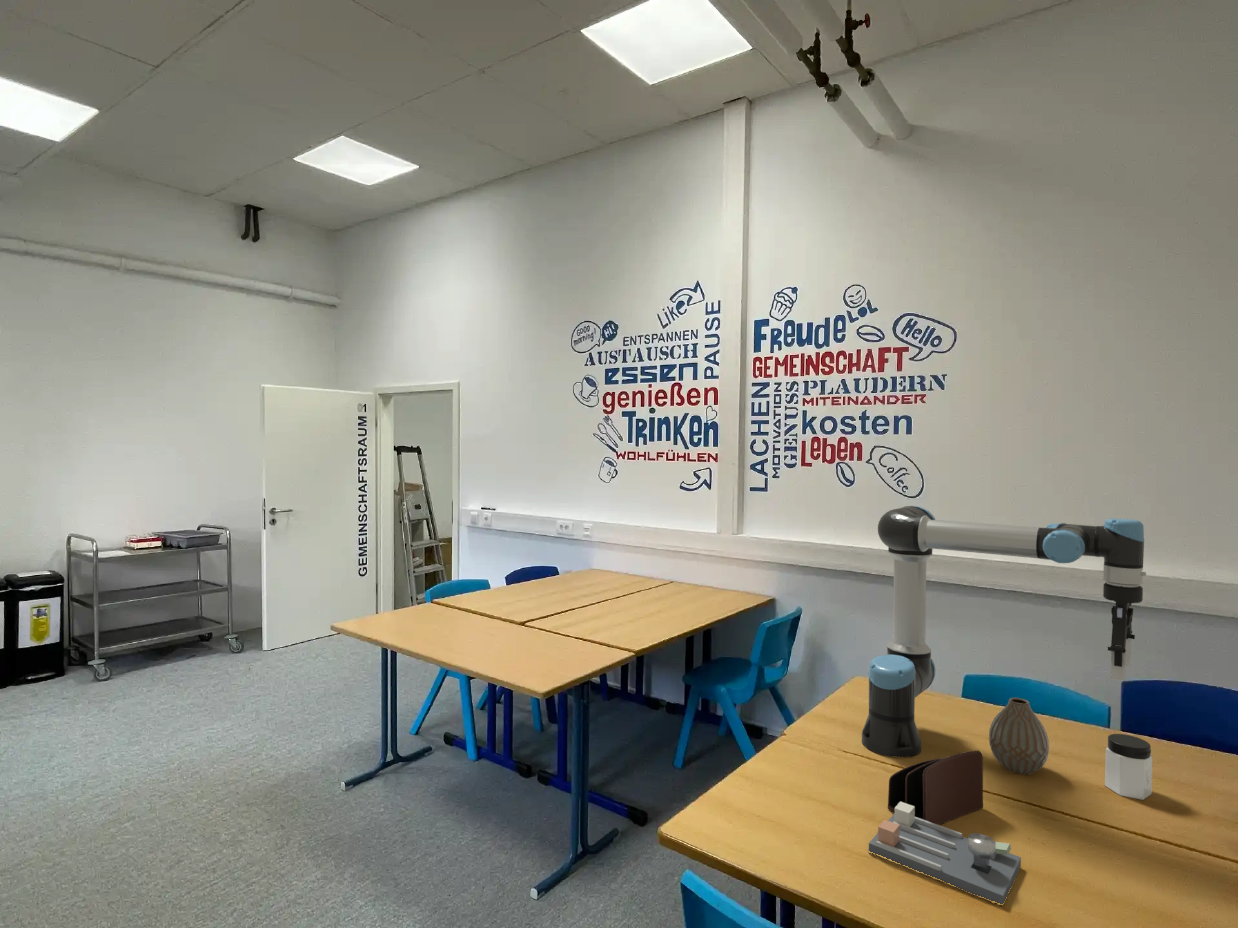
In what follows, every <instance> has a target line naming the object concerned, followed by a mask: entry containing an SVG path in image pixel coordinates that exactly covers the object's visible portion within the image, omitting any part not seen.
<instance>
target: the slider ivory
mask: <svg viewBox="0 0 1238 928" xmlns="http://www.w3.org/2000/svg"><path fill="white" fill-rule="evenodd" d="M893 814H894V822H897V823H900V824H903V825H905V826H908V827H910V826H911V825H912V824H913V823H914V821H915V806H912V805H909V804H906V803H903V802H899V804H898V805H897V806H896V807H895V813H893Z"/></svg>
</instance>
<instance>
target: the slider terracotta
mask: <svg viewBox="0 0 1238 928" xmlns="http://www.w3.org/2000/svg"><path fill="white" fill-rule="evenodd" d="M877 828H878V829H877V833H878V841H879V842H882V843H885V844H887V845H890V846H892V847H895V845H896V844H897V843H898V842H899V833H900V825H898V824H896V823H893V822H890V821H888V820H887V819H883V820H882V822H881V823H880V824H879V825H878V827H877Z"/></svg>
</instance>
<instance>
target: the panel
mask: <svg viewBox="0 0 1238 928" xmlns="http://www.w3.org/2000/svg"><path fill="white" fill-rule="evenodd" d="M887 821H890V822H893V823H896V824H898V825H900V833H899V842H898V843H897V844H896V845H895V847H892V846H890V845H887V844H885V843H882V842H879V841H878V832H877V833H876V834H875V835H874V836H873V838H871V840H870V841H869V842H868V852H869V851H870V852H873V853H875V854H878V855H881V856H883V857H886V858H887V859H891V860H892V861H895V862H897V863H900V864H901V865H905V866H908V867H909V868H912V869H914V870H917V871H919V872H923V873H924V874H927V875H930V876H932V877H935V878H937V879H940V880H942V881H944V882H946V883H950V884H951V885H954V886H956V887H958V888H960V889H963V890H965V891H967V892H970V893H972V894H975V895H978V896H981V897H984V898H986V899H989V900H991V901H995V902H997V903H1000V904H1003V903H1004V901H1005V899H1006V897H1007V894H1008V892H1009V890H1010V888H1011V886H1012V885H1013V886H1014V883H1015V881H1016V879H1015V878H1017V877H1016V875H1017V876H1018V874H1019V873H1020V870H1021V868H1020V867H1022V858H1021V856H1019V855H1016V854H1013V853H1011V852H1010V851H1011V849H1012V846H1011V844H1010V843H1007V842H1001V841H1000V842H999V841H995V843H996V849H995V857H994V858H992V859H989V865H988V867H987V869H985V868H982V867H979V866H977V865H974V864H973V863H974V855H973V854H972V853H970V852H969V850H968V837H965V836H963V833H961V832H959V831H956V830H953V829H952V828H949V827H946V826H943V825H937V824H934V823H931V822H929V821H926V820H923V819H920V818H917V817H915V821H914V823H913V824H912V825H911V826H910V827H908V826H905V825H903V824H900V823H897V822H894V813H893V814H892V815H891V817H889V819H888V820H887ZM1019 869H1020V870H1019ZM1014 880H1015V881H1014ZM1013 882H1014V883H1013ZM1013 886H1012V887H1013ZM960 889H959V890H960ZM1011 889H1012V888H1011ZM965 891H964V892H965ZM1010 891H1011V890H1010ZM967 892H966V893H967ZM970 893H969V894H970ZM1009 893H1010V892H1009ZM972 894H971V895H972ZM975 895H974V896H975ZM1008 895H1009V894H1008ZM1007 898H1008V897H1007ZM1006 900H1007V899H1006ZM1005 902H1006V901H1005ZM1004 904H1005V903H1004Z"/></svg>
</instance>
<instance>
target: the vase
mask: <svg viewBox="0 0 1238 928" xmlns="http://www.w3.org/2000/svg"><path fill="white" fill-rule="evenodd" d="M988 742H989V747H990V750H991V754H992V755H993V756H994V758H995V759H996V761H997V762H998V763H999V764H1000V765H1001V766H1002V768H1004V769H1005V770H1007V771H1009V772H1011V773H1014V774H1018V775H1022V776H1023V775H1025V776H1026V775H1027V776H1028V775H1032V774H1035V772H1038V771H1039V770H1041V768H1043V767H1044V766H1045V764H1046V762H1047V760H1048V757H1049V752H1050V742H1049V736H1048V733H1047V731H1046V729H1045V727H1044V725H1043V723H1042V721H1041V720H1040V719H1039V717H1038V716H1037V715H1036V713H1035V712H1034V711H1033V710H1032V707H1031V705H1030V702H1029V700H1027V699H1024V698H1019V697H1010V698H1009V699H1008V703H1007V704H1006V705H1005V707H1003V708H1002V709H1001V710H1000V711H999V712H998V713H997V714H996V715H995V716H994V719H993V720H992V722H991V724H990V728H989V733H988Z"/></svg>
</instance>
